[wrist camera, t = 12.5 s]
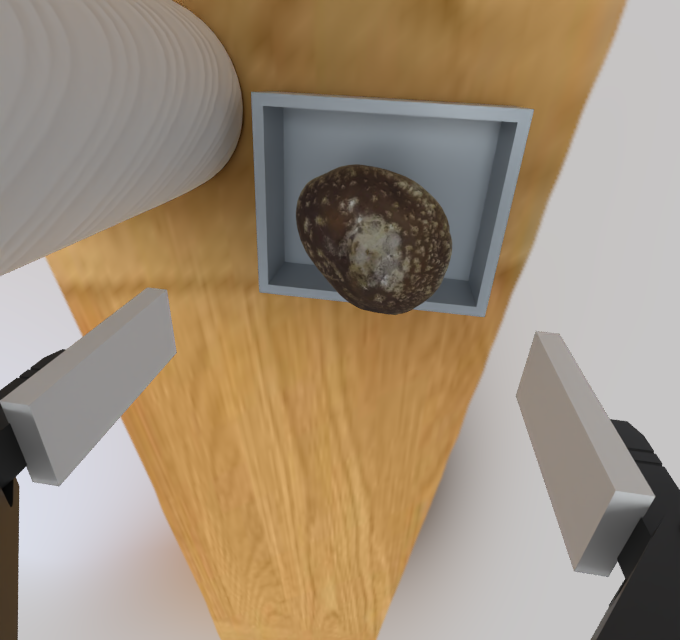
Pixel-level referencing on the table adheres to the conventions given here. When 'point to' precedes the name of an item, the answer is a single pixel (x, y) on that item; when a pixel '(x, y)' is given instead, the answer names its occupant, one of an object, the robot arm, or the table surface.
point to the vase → (105, 116)
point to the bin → (397, 156)
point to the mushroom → (375, 237)
